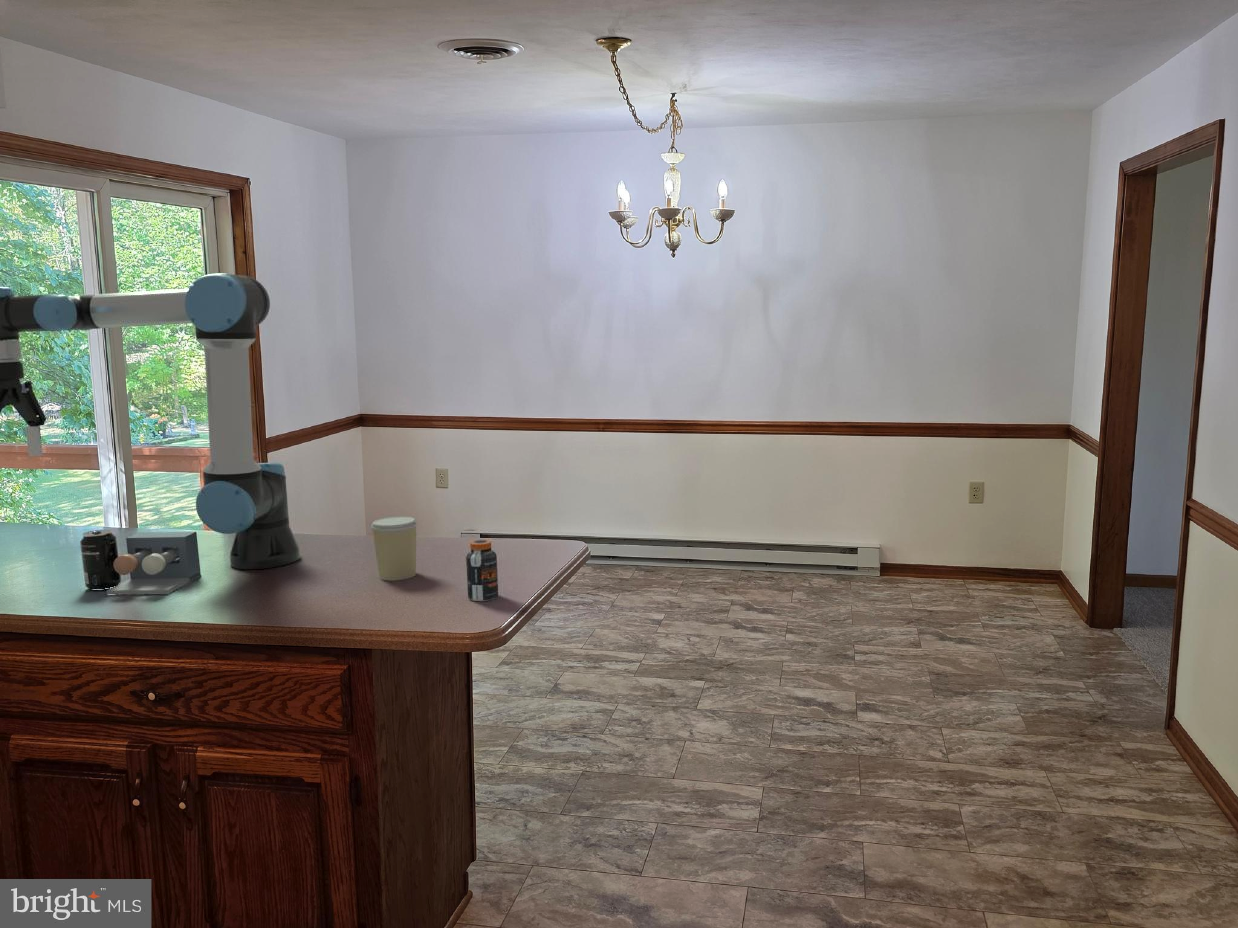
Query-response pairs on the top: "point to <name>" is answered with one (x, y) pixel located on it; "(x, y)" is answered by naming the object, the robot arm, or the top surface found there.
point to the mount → (173, 572)
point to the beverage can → (99, 559)
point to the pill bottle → (482, 571)
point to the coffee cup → (395, 547)
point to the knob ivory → (159, 561)
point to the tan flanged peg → (130, 561)
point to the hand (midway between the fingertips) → (15, 460)
